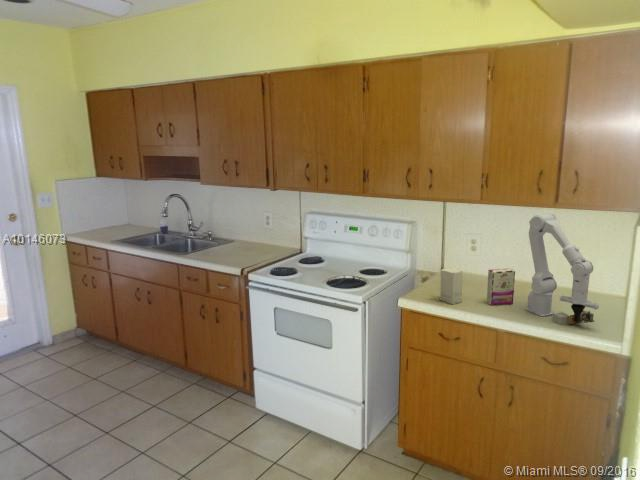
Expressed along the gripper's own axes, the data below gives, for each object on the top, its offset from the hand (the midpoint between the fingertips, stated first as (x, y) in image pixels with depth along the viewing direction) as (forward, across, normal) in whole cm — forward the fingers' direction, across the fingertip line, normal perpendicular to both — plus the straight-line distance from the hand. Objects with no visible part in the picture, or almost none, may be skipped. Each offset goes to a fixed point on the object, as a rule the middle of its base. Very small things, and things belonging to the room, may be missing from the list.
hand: (576, 321), depth 192 cm
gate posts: (+2, 0, +8) cm, 8 cm away
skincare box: (+1, -51, -16) cm, 53 cm away
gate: (+1, -1, +4) cm, 4 cm away
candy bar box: (+1, -34, -1) cm, 35 cm away
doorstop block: (+2, -6, -2) cm, 6 cm away
